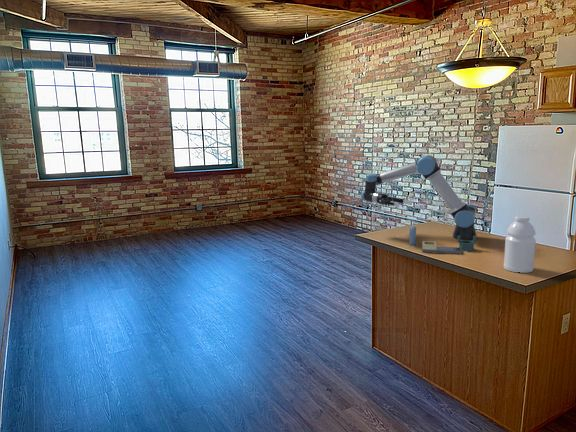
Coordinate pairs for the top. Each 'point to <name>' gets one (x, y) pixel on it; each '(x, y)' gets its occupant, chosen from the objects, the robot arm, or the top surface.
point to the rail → (438, 248)
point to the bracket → (466, 244)
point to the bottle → (520, 246)
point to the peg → (412, 236)
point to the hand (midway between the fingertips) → (405, 203)
